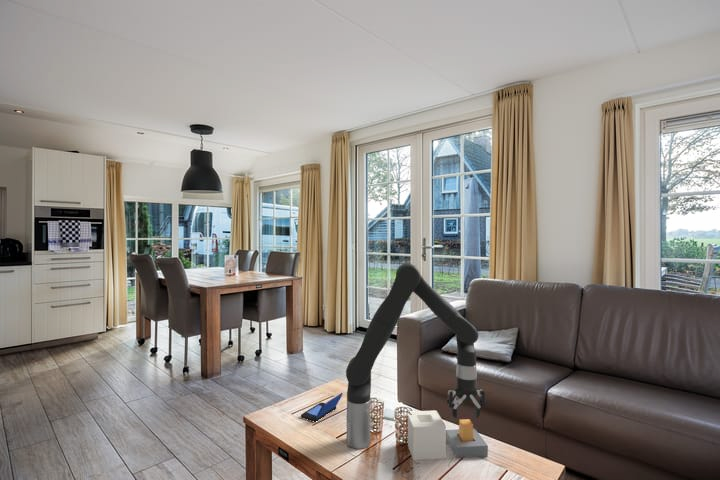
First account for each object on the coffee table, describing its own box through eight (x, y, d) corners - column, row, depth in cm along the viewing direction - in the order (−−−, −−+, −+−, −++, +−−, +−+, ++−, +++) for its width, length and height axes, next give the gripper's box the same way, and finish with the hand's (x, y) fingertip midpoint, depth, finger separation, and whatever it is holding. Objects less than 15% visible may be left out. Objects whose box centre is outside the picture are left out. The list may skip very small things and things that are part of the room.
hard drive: (369, 413, 166) (395, 418, 160) (376, 405, 173) (401, 410, 168) (369, 416, 166) (395, 422, 160) (376, 408, 173) (401, 414, 168)
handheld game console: (321, 404, 176) (321, 385, 176) (343, 411, 169) (343, 392, 169) (299, 418, 163) (299, 397, 163) (322, 426, 156) (322, 405, 156)
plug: (462, 448, 138) (462, 424, 138) (459, 442, 142) (459, 419, 142) (473, 447, 138) (473, 424, 138) (469, 442, 142) (469, 419, 142)
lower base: (456, 457, 133) (456, 447, 133) (445, 439, 145) (445, 429, 145) (487, 456, 134) (487, 445, 134) (474, 438, 146) (474, 428, 146)
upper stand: (413, 460, 132) (413, 427, 132) (406, 441, 144) (406, 411, 144) (445, 458, 133) (445, 425, 133) (435, 440, 145) (436, 410, 145)
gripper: (451, 379, 135) (450, 422, 136) (488, 378, 137) (487, 421, 137) (445, 372, 143) (444, 413, 143) (480, 371, 144) (479, 412, 144)
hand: (465, 417), depth 140 cm, fingers open, 8 cm apart
